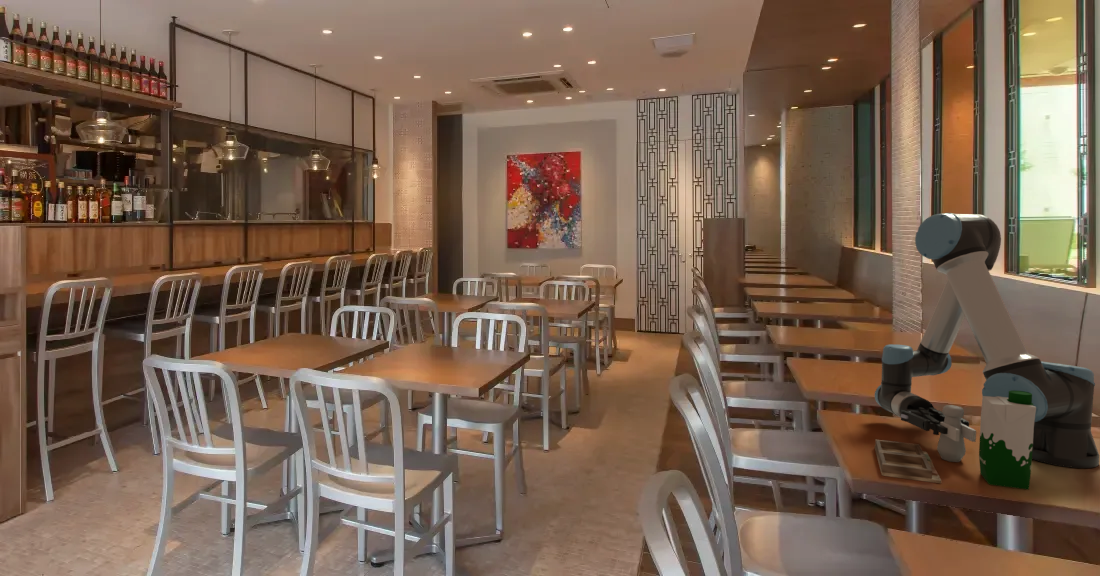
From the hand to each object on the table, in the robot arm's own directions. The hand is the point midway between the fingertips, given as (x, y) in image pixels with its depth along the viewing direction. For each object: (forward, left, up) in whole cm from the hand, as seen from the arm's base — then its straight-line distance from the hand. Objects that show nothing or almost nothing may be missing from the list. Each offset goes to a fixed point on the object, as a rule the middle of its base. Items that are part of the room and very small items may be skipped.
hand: (965, 435), depth 142 cm
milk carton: (-6, +7, -8) cm, 12 cm away
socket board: (+12, +3, -8) cm, 15 cm away
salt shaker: (+2, -5, -8) cm, 9 cm away
